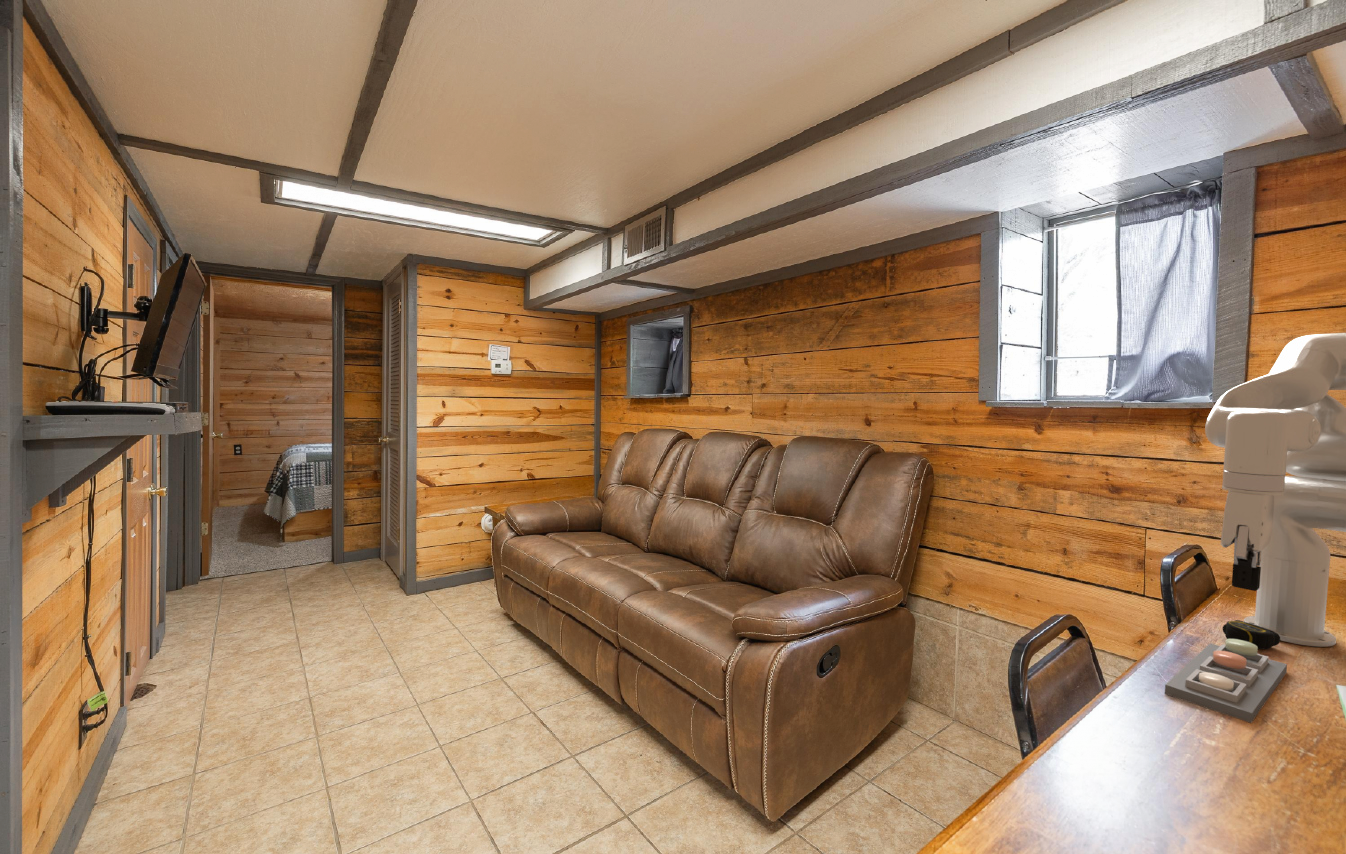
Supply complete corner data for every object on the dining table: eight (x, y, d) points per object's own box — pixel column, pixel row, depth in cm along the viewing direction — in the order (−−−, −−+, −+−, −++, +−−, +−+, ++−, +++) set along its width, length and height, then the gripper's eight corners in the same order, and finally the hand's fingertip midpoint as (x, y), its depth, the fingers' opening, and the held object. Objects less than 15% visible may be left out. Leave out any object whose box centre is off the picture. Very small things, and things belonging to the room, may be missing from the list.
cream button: (1202, 676, 95) (1202, 669, 95) (1236, 687, 91) (1236, 679, 91) (1195, 684, 92) (1195, 676, 92) (1229, 694, 89) (1230, 687, 89)
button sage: (1228, 643, 104) (1228, 636, 104) (1259, 651, 101) (1260, 644, 100) (1222, 649, 101) (1222, 642, 101) (1254, 657, 98) (1254, 650, 98)
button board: (1209, 651, 108) (1210, 637, 108) (1286, 672, 100) (1287, 657, 100) (1164, 693, 93) (1165, 677, 93) (1251, 722, 85) (1252, 705, 85)
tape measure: (1281, 650, 109) (1283, 631, 109) (1258, 655, 107) (1260, 635, 107) (1237, 635, 116) (1238, 617, 115) (1214, 639, 113) (1215, 621, 113)
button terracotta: (1216, 655, 99) (1216, 648, 99) (1248, 664, 96) (1249, 657, 96) (1209, 661, 97) (1210, 654, 97) (1242, 671, 94) (1243, 663, 94)
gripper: (1233, 476, 106) (1227, 574, 108) (1211, 484, 98) (1204, 590, 99) (1293, 481, 100) (1285, 585, 101) (1274, 490, 91) (1266, 603, 93)
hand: (1245, 587), depth 100 cm, fingers closed
